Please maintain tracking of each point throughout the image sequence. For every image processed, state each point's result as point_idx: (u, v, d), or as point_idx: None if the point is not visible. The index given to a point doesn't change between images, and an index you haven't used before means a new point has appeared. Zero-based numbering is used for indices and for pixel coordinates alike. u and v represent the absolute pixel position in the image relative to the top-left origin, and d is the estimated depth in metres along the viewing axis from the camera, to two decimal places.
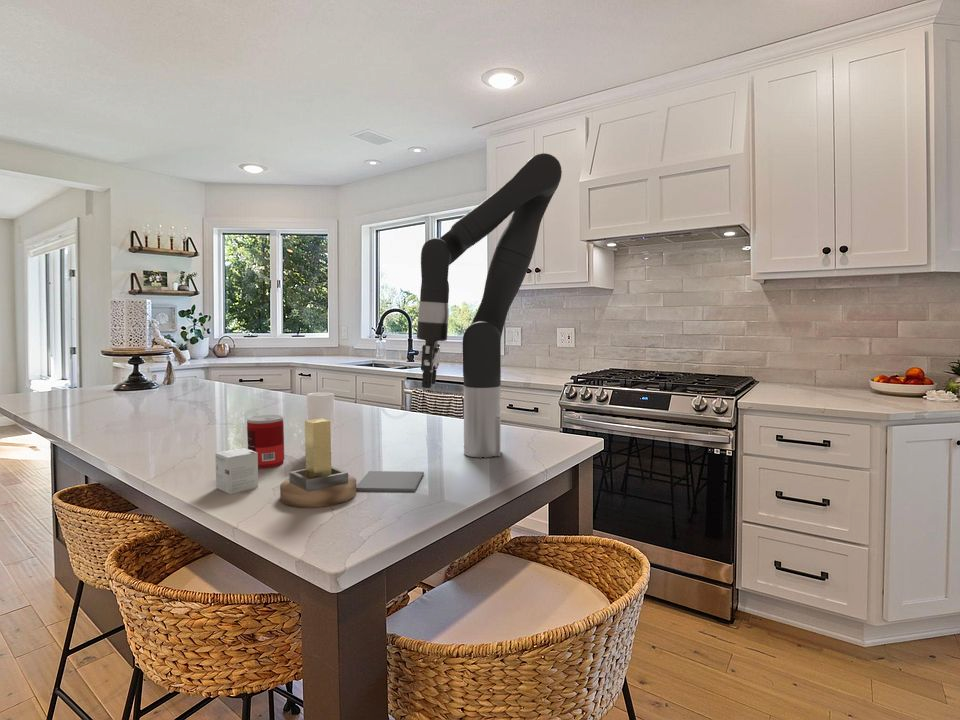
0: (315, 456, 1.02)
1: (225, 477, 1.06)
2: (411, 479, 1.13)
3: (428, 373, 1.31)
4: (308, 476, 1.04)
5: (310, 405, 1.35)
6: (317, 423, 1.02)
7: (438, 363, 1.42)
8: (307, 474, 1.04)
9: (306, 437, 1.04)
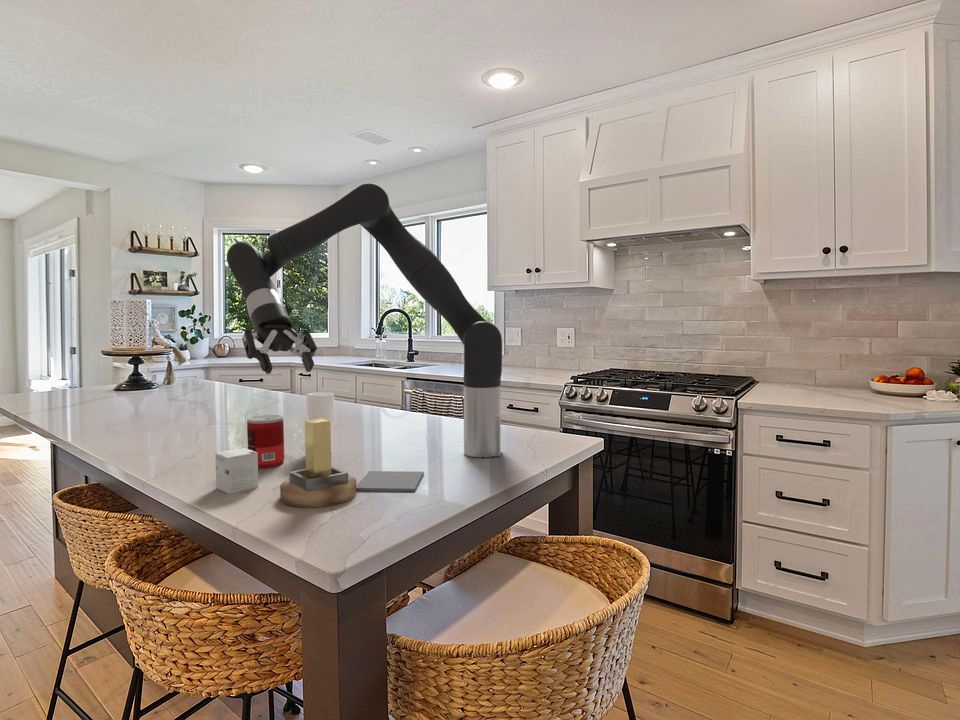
0: (315, 456, 1.02)
1: (225, 477, 1.06)
2: (411, 479, 1.13)
3: (259, 356, 1.10)
4: (308, 476, 1.04)
5: (310, 405, 1.35)
6: (317, 423, 1.02)
7: (313, 346, 1.18)
8: (307, 474, 1.04)
9: (306, 437, 1.04)
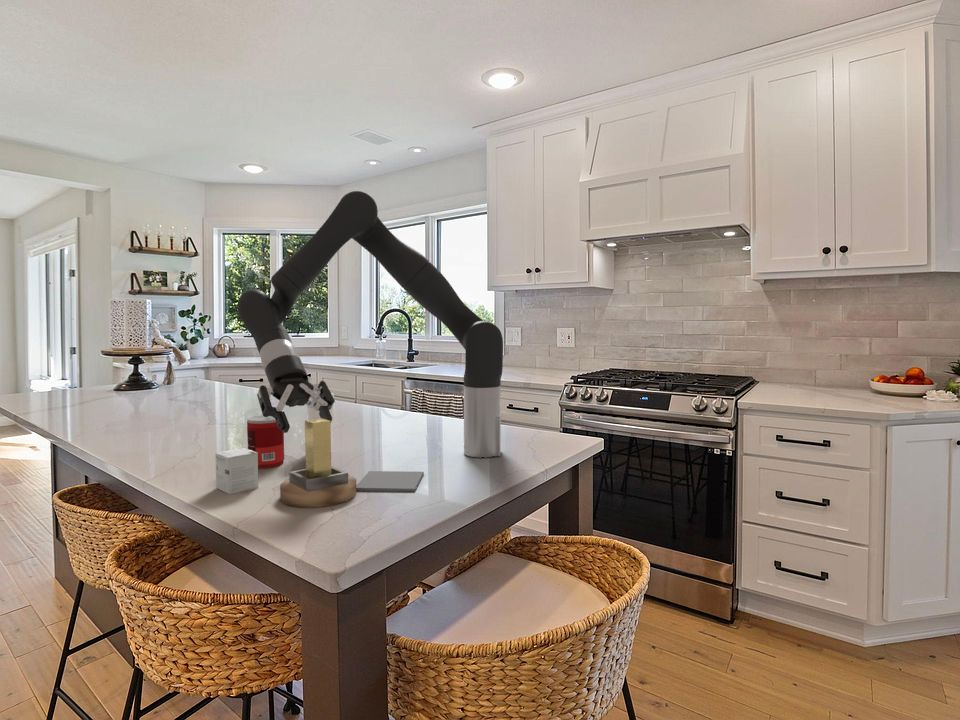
0: (315, 456, 1.02)
1: (225, 477, 1.06)
2: (411, 479, 1.13)
3: (275, 414, 1.05)
4: (308, 476, 1.04)
5: None
6: (317, 423, 1.02)
7: (330, 399, 1.13)
8: (307, 474, 1.04)
9: (306, 437, 1.04)
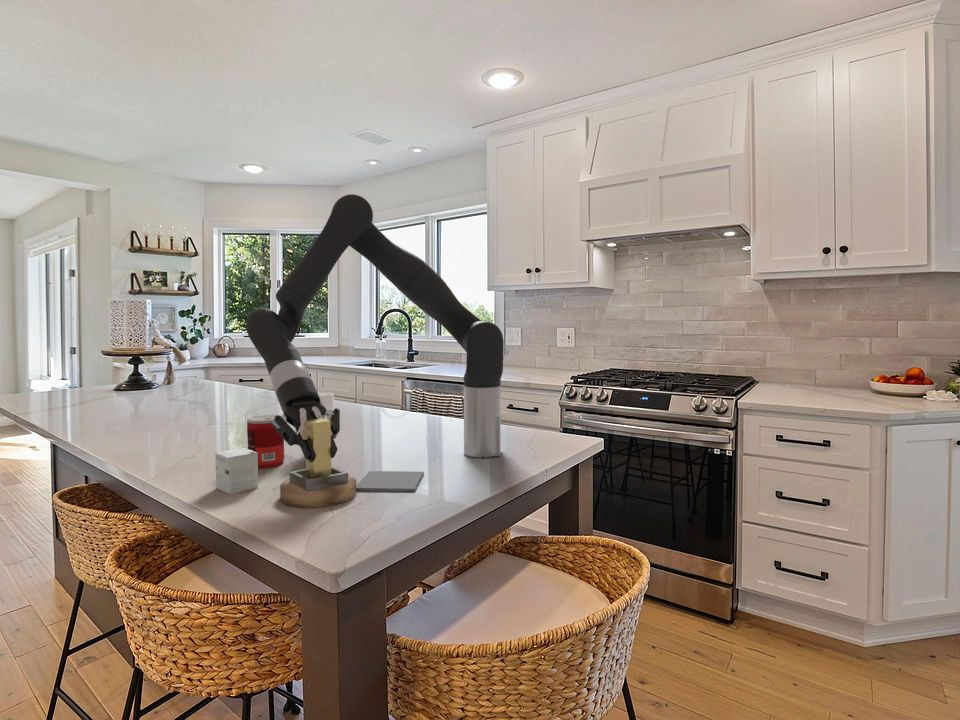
0: None
1: (225, 477, 1.06)
2: (411, 479, 1.13)
3: (301, 443, 1.02)
4: (308, 476, 1.04)
5: None
6: (317, 423, 1.02)
7: (335, 428, 1.07)
8: (307, 474, 1.04)
9: None
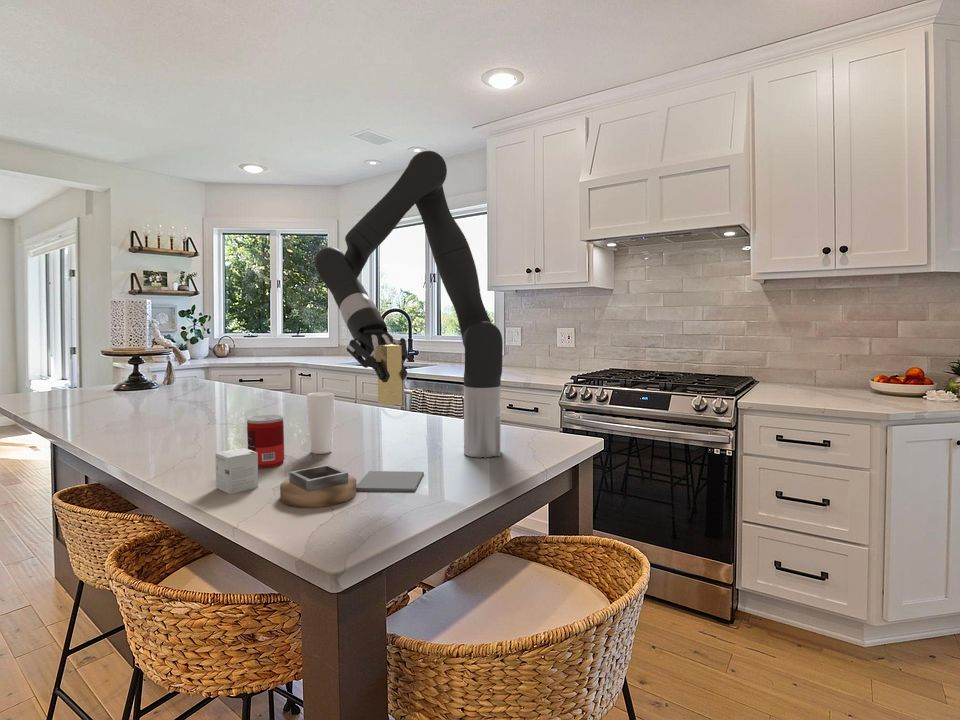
0: None
1: (225, 477, 1.06)
2: (411, 479, 1.13)
3: (375, 365, 1.09)
4: (381, 397, 1.11)
5: (310, 405, 1.35)
6: (390, 346, 1.09)
7: (404, 354, 1.15)
8: (379, 395, 1.11)
9: None
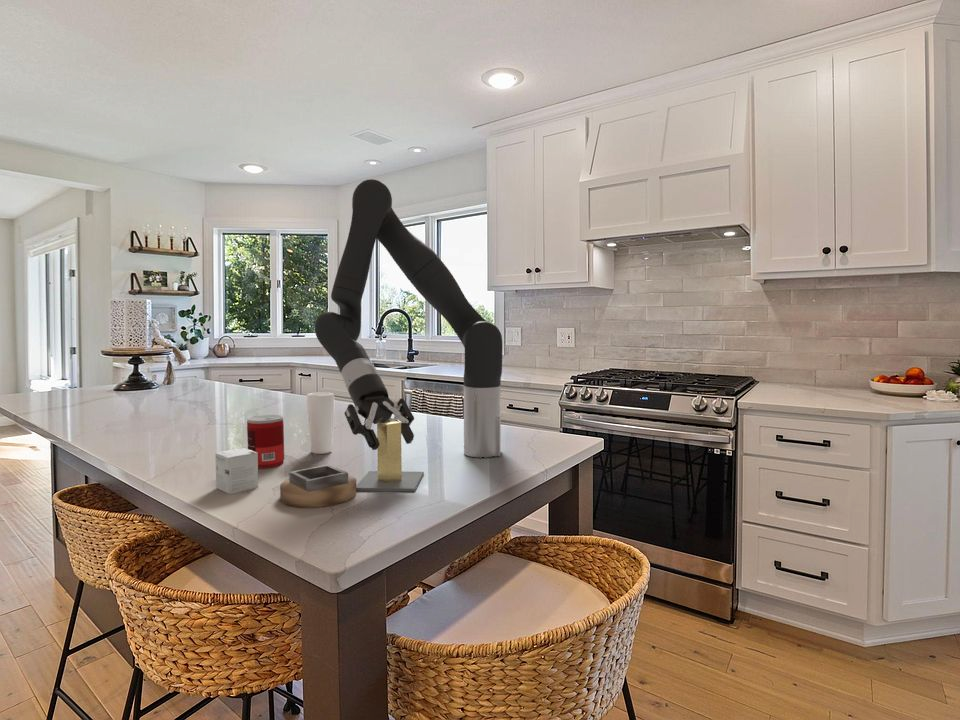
0: (388, 455, 1.10)
1: (225, 477, 1.06)
2: (411, 479, 1.13)
3: (365, 432, 1.09)
4: (380, 473, 1.12)
5: (310, 405, 1.35)
6: (390, 424, 1.10)
7: (410, 416, 1.17)
8: (379, 472, 1.12)
9: (378, 437, 1.12)
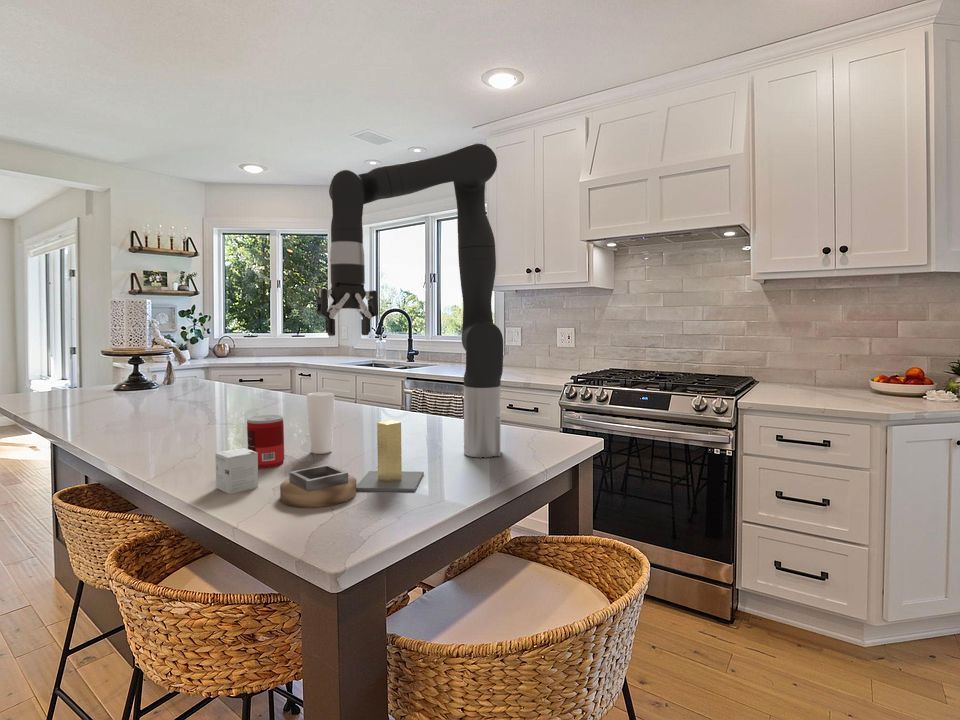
0: (388, 455, 1.10)
1: (225, 477, 1.06)
2: (411, 479, 1.13)
3: (327, 319, 1.20)
4: (380, 473, 1.12)
5: (310, 405, 1.35)
6: (390, 424, 1.10)
7: (375, 312, 1.27)
8: (379, 472, 1.12)
9: (378, 437, 1.12)
